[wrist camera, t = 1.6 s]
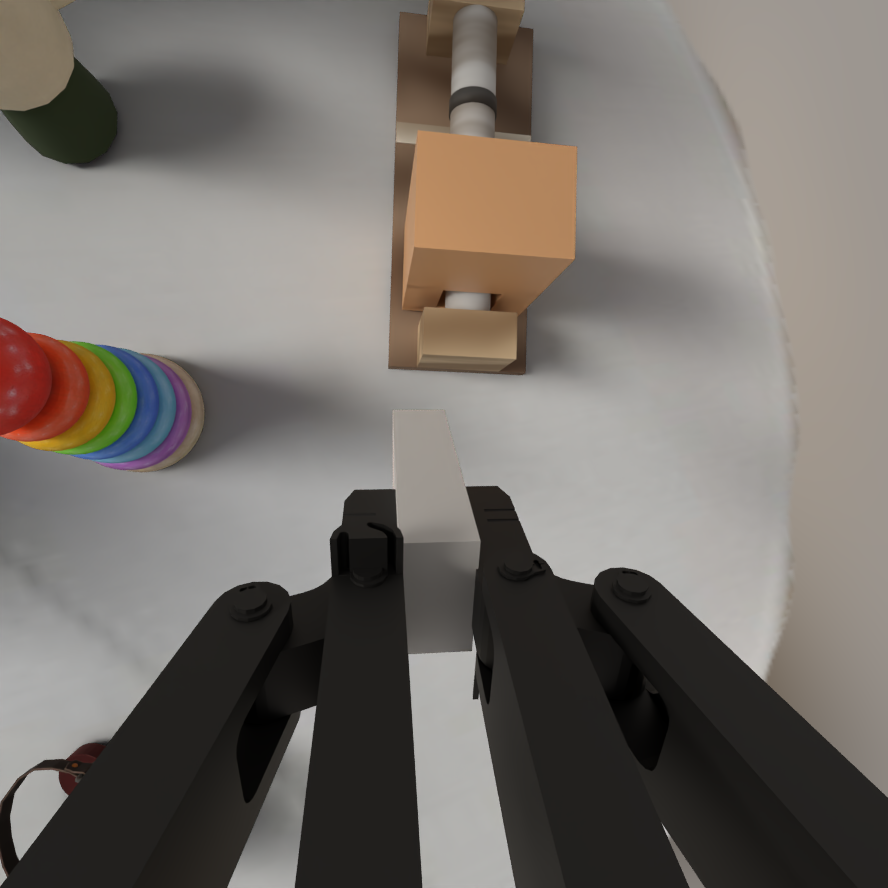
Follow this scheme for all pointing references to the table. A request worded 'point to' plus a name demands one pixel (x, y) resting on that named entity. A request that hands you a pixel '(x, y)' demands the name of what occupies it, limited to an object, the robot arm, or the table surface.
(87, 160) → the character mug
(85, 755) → the binoculars
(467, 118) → the pipe stand
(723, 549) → the table surface
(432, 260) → the wooden block
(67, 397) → the stacking toy
